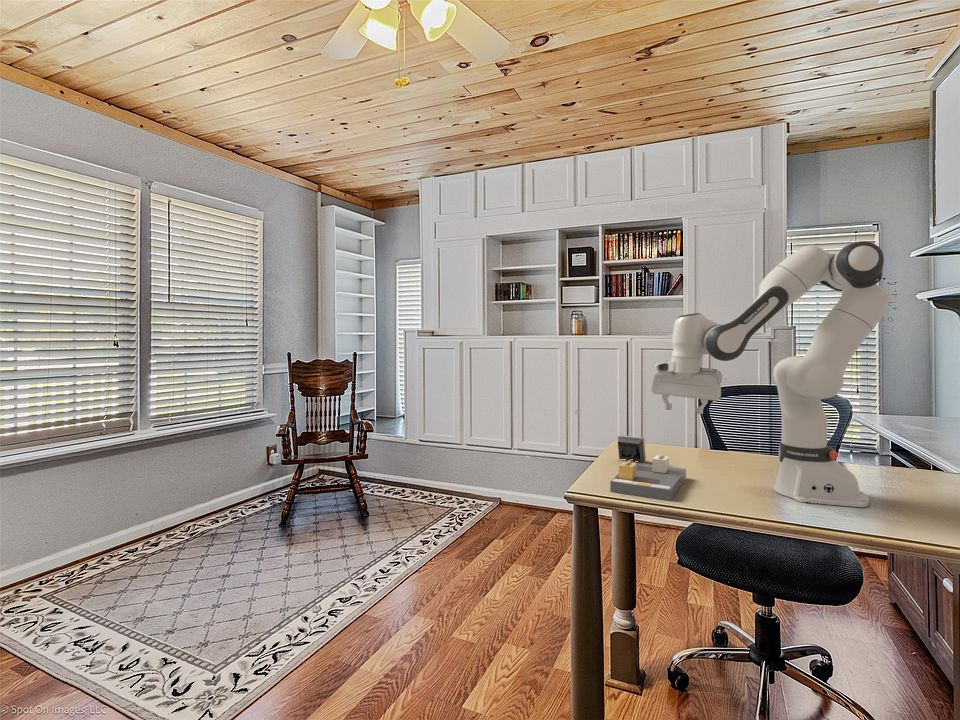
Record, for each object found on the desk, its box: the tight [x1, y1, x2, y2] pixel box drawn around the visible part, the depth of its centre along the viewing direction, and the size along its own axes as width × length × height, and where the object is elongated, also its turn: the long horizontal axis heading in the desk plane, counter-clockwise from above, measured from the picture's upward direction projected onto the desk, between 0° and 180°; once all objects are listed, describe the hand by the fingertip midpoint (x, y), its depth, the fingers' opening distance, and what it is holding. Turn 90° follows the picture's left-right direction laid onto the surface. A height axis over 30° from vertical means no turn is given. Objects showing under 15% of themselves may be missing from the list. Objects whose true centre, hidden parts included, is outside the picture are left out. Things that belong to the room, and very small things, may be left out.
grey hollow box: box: [617, 434, 647, 463], centre depth 187 cm, size 9×5×9 cm, turn 57°
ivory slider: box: [651, 454, 670, 473], centre depth 164 cm, size 4×5×5 cm
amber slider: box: [618, 461, 637, 480], centre depth 158 cm, size 4×5×5 cm
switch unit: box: [609, 462, 687, 502], centre depth 161 cm, size 17×24×3 cm
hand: (683, 411), depth 161 cm, fingers open, 8 cm apart
